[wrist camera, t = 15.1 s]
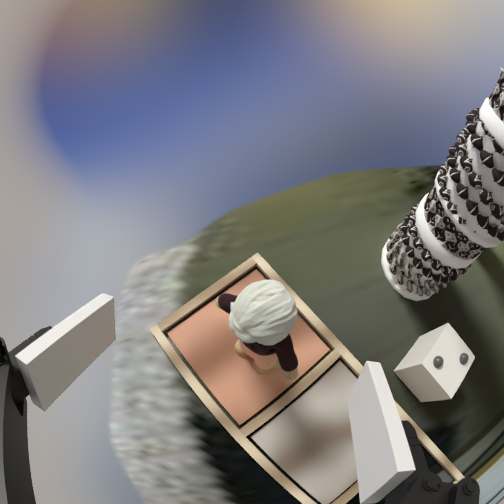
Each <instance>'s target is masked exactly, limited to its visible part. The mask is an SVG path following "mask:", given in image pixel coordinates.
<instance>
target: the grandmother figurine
mask: <svg viewBox="0 0 504 504" xmlns="http://www.w3.org/2000/svg"><path fill="white" fill-rule="evenodd" d="M216 305H217V307H218V308H220V309H222V310H223V311H225V312H226V313H228V314H229V327H230V330H231V331H232V332H233V333H234V334H235V335H236V337H237V338H238V341H237V342H236V344H235V347H234V348H235V351H236V352H237V353H238V354H239V355H240V356H242V357H247V356H250V357H251V358H253V359H254V361H253V366H254V368H255V370H256V371H257V372H258V373H261V374H264V373H267V372H270V371H272V370H275V369H277V368H279V367H281V368H282V371H283V376H284V378H285V379H287V380H294V379H296V378H297V376H298V359H297V356H296V354H295V351H294V347H293V342H292V339H291V336H290V331H291V330H292V329H293V328H294V326H295V321H296V320H297V316H298V312H297V307H296V302H295V300H294V299H293V297H292V296H291V294H290V293H289V292H288V291H287V289H286V288H285V287H284V285H283V284H282V283H281V282H279V281H276V280H262V281H258V282H254V283H251V284H250V285H248V286H247V287H246V288H244V289H243V290H242V291H241V293H240V294H239V295H238V296H236V295H232V294H229V293H224V294H221V295H220V296H218V297H217V299H216Z"/></svg>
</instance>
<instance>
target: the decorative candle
mask: <svg viewBox="0 0 504 504" xmlns="http://www.w3.org/2000/svg"><path fill="white" fill-rule="evenodd" d="M500 69H501V70H502V71H503V72H502V73H501V76H500V79H499V80H498V82H497V83H496V86H495V88H494V90H493V92H492V94H491V95H490V97H489V98H486V100H485V101H484V103H483V105H482V107H481V109H480V110H479V108H476V109H474V110H472V111H471V113H468V114H467V115H466V119H467V122H466V128H464V129H462V131H461V133H460V134H458V135H457V142H456V143H455V146H451V147H450V149H449V153H450V155H449V156H447V160H446V161H445V163H444V164H443V165H441V166H440V168H439V171H438V173H437V176H436V179H435V186H434V188H433V189H432V191H431V192H430V193H428V194H426V195H425V196H424V198H423V199H422V201H421V202H419V203H418V204H417V206H413V207H412V208H411V214H410V215H407V216H406V217H405V218H404V222H403V223H402V224H399V225H398V226H397V228H396V232H393V233H392V234H391V236H390V239H388V241H387V242H386V244H385V246H384V248H383V249H382V258H381V264H382V267H383V271H384V274H385V277H386V279H387V280H388V282H389V283H390V285H391V286H392V288H393V289H394V290H395V291H397V292H398V293H399V294H401V295H402V296H403V297H404V298H408V299H411V300H414V301H420V300H425V299H428V298H429V297H430V296H431V295H433V294H434V293H438V292H439V284H440V285H441V286H442V287H443V288H446V287H447V283H448V282H449V281H454V280H456V279H457V277H458V275H459V274H464V273H465V272H466V271H467V268H469V267H470V266H471V263H472V262H474V261H475V260H476V259H477V257H478V256H479V255H480V254H481V252H483V251H484V250H485V249H486V248H490V247H496V246H497V245H498V244H499V243H500V242H501V241H503V240H504V69H503V68H501V67H500ZM479 117H480V118H479ZM474 119H475V121H476V120H477V119H479V120H478V122H477V123H475V122H474ZM467 138H468V139H467ZM466 139H467V140H466ZM465 140H466V141H465ZM456 153H458V155H457V156H456V157H455V155H456Z"/></svg>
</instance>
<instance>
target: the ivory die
mask: <svg viewBox="0 0 504 504" xmlns="http://www.w3.org/2000/svg"><path fill="white" fill-rule="evenodd" d="M474 359H475V356H474V355H473V353H472V352H471V351H470V349H469V348H468V347H467V345H466V344H465V343H464V342H463V340H462V339H461V338H460V336H459V335H458V334H457V333H456V331H455V330H454V329H453V328H452V327H451V325H450V324H449V323H446V324H444V325H442V326H440V327H438V328H436V329H434V330H432V331H430V332H428V333H426V334H424V335H422V336H420V337H419V338H418V340H417V341H416V342H415V344H414V345H413V346H412V348H411V349H410V350H409V352H408V353H407V354H406V356H405V357H404V358H403V360H402V361H401V362H400V364H399V365H398V366H397V367H396V369H395V370H394V371H393V372H394V373H395V374H396V375H397V376H398V377H399V378H400V379H401V380H402V382H403V383H404V384H405V385H406V386H407V387H408V388H409V389H410V391H411V392H412V393H413V394H414V395H415V396H416V397H417V398H418V400H419V401H420V402H429V401H439V400H447V399H452V397H453V396H454V394H455V393H456V391H457V389H458V388H459V386H460V384H461V382H462V381H463V379H464V377H465V375H466V374H467V372H468V370H469V368H470V366H471V364H472V362H473V360H474Z"/></svg>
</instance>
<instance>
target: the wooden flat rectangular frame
mask: <svg viewBox="0 0 504 504" xmlns="http://www.w3.org/2000/svg"><path fill="white" fill-rule="evenodd" d="M255 266H257V267H258V268H259V269H260V270H261V272H262V273H263V274H264V275H265V276H266V277H267V278H268V279H269V280H276V281H279V282H281V283H282V284H283V285H284V287H285V288H286V289H287V291H288V292H289V293H290V294H291V296H292V297H293V299H294V300H295V302H296V307H297V311H298V312H299V313H300V314H301V315H302V316H303V317H304V319H305V320H306V321H307V322H308V323H309V324H310V325H311V326H312V327H313V328H314V329H315V331H316V332H317V333H318V334H319V335H320V336H321V337H322V338H323V339H324V340H325V341H326V342H327V344H328V345H329V346H330V347H331V348H332V349H333V351H332V352H331V353H330V354H329V355H328V356H327V357H326V358H325V359H324V360H323V361H321V362H320V363H319V364H318V365H317V366H316V367H315V368H314V369H313V370H312V371H311V372H310V373H308V374H307V375H306V376H305V377H304V378H303V379H302V380H301V381H299V382H298V383H297V384H296V385H295V386H294V387H293V388H291V389H290V390H289V391H288V392H287V393H285V394H284V395H283V396H282V397H281V398H279V399H278V400H277V401H276V402H275V403H273V404H272V405H271V406H270V407H268V408H267V409H266V410H265V411H263V412H262V413H261V414H259V415H258V416H257V417H255V418H254V419H253V420H251V421H250V422H249V423H247V424H246V425H245V426H243V427H242V428H241V429H238V427H237V426H236V425H235V424H234V423H233V422H232V421H231V420H230V418H229V417H228V416H227V415H226V414H225V413H224V412H223V410H222V409H221V408H220V407H219V406H218V404H217V403H216V402H215V401H214V400H213V398H212V397H211V396H210V395H209V394H208V392H207V391H206V390H205V389H204V387H203V386H202V385H201V384H200V382H199V381H198V380H197V378H196V377H195V376H194V375H193V373H192V372H191V371H190V369H189V368H188V367H187V365H186V364H185V363H184V361H183V360H182V359H181V357H180V356H179V354H178V353H177V352H176V350H175V349H174V348H173V346H172V345H171V343H170V342H169V340H168V339H167V338H166V336H165V335H164V333H163V332H165V331H166V330H168V329H169V328H170V327H172V326H173V325H175V324H176V323H178V322H179V321H180V320H182V319H183V318H185V317H186V316H187V315H189V314H190V313H192V312H193V311H194V310H196V309H197V308H199V307H200V306H201V305H203V304H204V303H206V302H207V301H208V300H210V299H211V298H213V297H214V296H215V295H217V294H218V293H219V292H221V291H222V290H224V289H225V288H226V287H228V286H229V285H231V284H232V283H233V282H235V281H236V280H237V279H239V278H240V277H242V276H243V275H244V274H246V273H247V272H248V271H250V270H251V269H253V268H254V267H255ZM262 280H266V279H265V278H264V277H263V276H262V275H261V274H260V273H259V272H258V271H257V269H255V270H254V271H252V272H251V273H250V274H248V275H247V276H246V277H244V278H243V279H241V280H240V281H239V282H237V283H236V284H235V285H233V286H232V287H230V288H229V289H228V290H226V291H225V292H224V293H229V294H232V295H236V296H238V295H239V294H240V293H241V291H242V290H243V289H244V288H246V287H247V286H248V285H250V284H251V283H254V282H258V281H262ZM224 293H222V294H224ZM219 296H220V295H219ZM216 299H217V298H215V299H214V300H212V301H211V302H210V303H208V304H207V305H205V306H204V307H203V308H201V309H200V310H199V311H197V312H196V313H194V314H193V315H192V316H190V317H189V318H187V319H186V320H185V321H183V322H182V323H180V324H179V325H177V326H176V327H175V328H173V329H172V330H170V331H169V332H168V333H167V334H168V335H169V337H170V338H171V339H172V341H173V342H174V344H175V345H176V346H177V348H178V349H179V351H180V352H181V353H182V355H183V356H184V357H185V359H186V360H187V361H188V363H189V364H190V365H191V367H192V368H193V369H194V371H195V372H196V373H197V375H198V376H199V377H200V378H201V380H202V381H203V382H204V384H205V385H206V386H207V387H208V389H209V390H210V391H211V392H212V393H213V395H214V396H215V397H216V398H217V399H218V401H219V402H220V403H221V404H222V405H223V407H224V408H225V409H226V410H227V411H228V412H229V414H230V415H231V416H232V417H233V418H234V419H235V420H236V422H237V423H238V424H239V425H241V424H242V423H244V422H245V421H246V420H248V419H249V418H250V417H252V416H253V415H254V414H255V413H257V412H258V411H259V410H261V409H262V408H263V407H265V406H266V405H267V404H268V403H270V402H271V401H272V400H273V399H275V398H276V397H277V396H278V395H279V394H281V393H282V392H283V391H284V390H285V389H287V388H288V387H289V386H290V385H291V384H292V383H294V382H295V381H296V380H297V379H298V378H299V377H300V376H302V375H303V374H304V373H305V372H306V371H307V370H308V369H309V368H311V367H312V366H313V365H314V364H315V363H316V362H317V361H318V360H319V359H320V358H321V357H322V356H324V355H325V354H326V353H327V352H328V351H329V350H330V349H329V348H328V347H327V346H326V345H325V344H324V343H323V342H322V341H321V339H320V338H319V337H318V336H317V335H316V334H315V333H314V332H313V331H312V330H311V329H310V328H309V326H308V325H307V324H306V323H305V322H304V321H303V320H302V319H301V318H300V317H299V316H297V320H296V321H295V326H294V328H293V329H292V330H291V331H290V336H291V339H292V342H293V347H294V351H295V354H296V356H297V359H298V376H297V378H296V379H294V380H287V379H285V378H284V376H283V371H282V368H281V367H279V368H277V369H275V370H272V371H270V372H267V373H264V374H261V373H258V372H257V371H256V370H255V368H254V366H253V361H254V359H253V358H251V357H250V356H247V357H242V356H240V355H239V354H238V353H237V352H236V351H235V348H234V347H235V344H236V342H237V341H238V338H237V337H236V335H235V334H234V333H233V332H232V331H231V330H230V327H229V314H228V313H226V312H225V311H223V310H222V309H220V308H218V307H217V305H216ZM150 330H151V332H152V333H153V335H154V336H155V338H156V339H157V341H158V342H159V344H160V345H161V347H162V348H163V349H164V351H165V352H166V354H167V355H168V357H169V358H170V359H171V361H172V362H173V364H174V365H175V366H176V368H177V369H178V371H179V372H180V373H181V375H182V376H183V377H184V379H185V380H186V381H187V383H188V384H189V385H190V386H191V388H192V389H193V390H194V392H195V393H196V394H197V395H198V397H199V398H200V399H201V400H202V402H203V403H204V404H205V405H206V406H207V408H208V409H209V410H210V411H211V413H212V414H213V415H214V416H215V417H216V418H217V420H218V421H219V422H220V423H221V424H222V425H223V426H224V428H225V429H226V430H227V431H228V432H229V433H230V434H231V435H232V437H233V438H234V439H235V440H236V441H237V442H238V443H239V444H240V445H241V446H242V447H243V448H244V449H245V450H246V451H247V452H248V454H249V455H250V456H251V457H252V458H253V459H254V460H255V461H256V462H257V463H258V464H259V465H260V466H261V467H262V468H263V469H265V470H266V471H267V472H268V473H269V474H270V475H271V476H272V477H273V478H274V479H275V480H276V481H277V482H278V483H279V484H281V485H282V486H283V487H284V488H285V489H286V490H287V491H288V492H290V493H291V494H292V495H293V496H294V497H295V498H297V499H298V500H299V501H300V502H301V503H302V504H317V503H316V502H314V501H313V500H312V499H311V498H310V497H308V496H307V495H306V494H305V493H304V492H303V491H301V490H300V489H299V488H298V487H297V486H296V485H295V484H294V483H292V482H291V481H290V480H289V479H288V478H287V477H286V476H285V475H284V474H283V473H282V472H281V471H279V470H278V469H277V468H276V467H275V466H274V465H273V464H272V463H271V462H270V461H269V460H268V459H267V458H266V457H265V456H264V455H263V454H262V453H261V452H260V451H259V450H258V449H257V448H256V447H255V446H254V445H253V444H252V443H251V442H250V440H249V439H248V438H247V437H246V436H248V435H249V434H250V433H252V432H253V431H255V430H256V429H257V428H259V427H260V426H261V425H262V424H264V423H265V422H266V421H268V420H269V419H270V418H271V417H273V416H274V415H275V414H276V413H278V412H279V411H280V410H281V409H283V408H284V407H285V406H286V405H287V404H289V403H290V402H291V401H292V400H293V399H294V398H296V397H297V396H298V395H299V394H300V393H301V392H303V391H304V390H305V389H306V388H307V387H308V386H309V385H310V384H312V383H313V382H314V381H315V380H316V379H317V378H318V377H319V376H320V375H321V374H322V373H323V372H324V371H326V370H327V369H328V368H329V367H330V366H331V365H332V364H333V363H334V362H335V361H336V360H337V359H338V358H339V357H340V358H341V359H342V360H343V361H344V362H345V363H346V364H347V365H348V366H349V367H350V368H351V370H352V371H353V372H354V373H355V374H356V375H357V376H358V377H359V375H360V373H361V371H362V369H363V366H362V365H361V364H360V363H359V361H358V360H357V359H356V358H355V357H354V356H353V355H352V354H351V353H350V352H349V351H348V350H347V348H346V347H345V346H344V345H343V344H342V343H341V342H340V341H339V340H338V339H337V338H336V337H335V336H334V334H333V333H332V332H331V331H330V330H329V329H328V328H327V327H326V326H325V325H324V324H323V323H322V321H321V320H320V319H319V318H318V317H317V316H316V315H315V314H314V313H313V312H312V311H311V310H310V309H309V307H308V306H307V305H306V304H305V303H304V302H303V301H302V300H301V299H300V298H299V297H298V296H297V295H296V293H295V292H294V291H293V290H292V289H291V288H290V287H289V286H288V285H287V284H286V283H285V282H284V281H283V279H282V278H281V277H280V276H279V275H278V274H277V273H276V272H275V271H274V270H273V269H272V268H271V267H270V266H269V264H268V263H267V262H266V261H265V260H264V259H263V258H262V257H261V256H260V255H259V254H258V253H257V254H255V255H254V256H252V257H251V258H250V259H248V260H247V261H245V262H244V263H243V264H241V265H240V266H238V267H237V268H236V269H234V270H233V271H231V272H230V273H228V274H227V275H226V276H224V277H223V278H221V279H220V280H219V281H217V282H216V283H214V284H213V285H212V286H210V287H209V288H207V289H206V290H204V291H203V292H202V293H200V294H199V295H197V296H196V297H195V298H193V299H192V300H190V301H189V302H188V303H186V304H185V305H183V306H182V307H180V308H179V309H178V310H176V311H175V312H173V313H172V314H171V315H169V316H168V317H166V318H165V319H163V320H162V321H161V322H159V323H158V324H156V325H155V326H153V327H152V328H151V329H150ZM356 381H357V378H356V377H355V376H354V375H353V374H352V373H351V372H350V371H349V370H348V369H347V368H346V367H345V365H344V364H343V363H342V362H341V361H340V360H339V361H338V362H337V363H336V364H335V365H334V366H333V367H332V368H331V369H330V370H329V371H328V372H327V373H326V374H325V375H324V376H322V377H321V378H320V379H319V380H318V381H317V382H316V383H315V384H314V385H313V386H312V387H311V388H309V389H308V390H307V391H306V392H305V393H304V394H303V395H302V396H300V397H299V398H298V399H297V400H296V401H295V402H293V403H292V404H291V405H290V406H289V407H287V408H286V409H285V410H284V411H283V412H281V413H280V414H279V415H278V416H276V417H275V418H274V419H273V420H271V421H270V422H269V423H268V424H266V425H265V426H264V427H262V428H261V429H260V430H259V431H257V432H256V433H254V434H253V435H252V436H250V437H251V438H252V439H253V440H254V441H255V442H256V443H257V444H258V445H259V446H260V447H261V448H262V449H263V450H264V451H265V452H266V453H267V454H268V455H269V456H270V457H271V458H272V459H273V460H274V461H275V462H276V463H277V464H278V465H279V466H280V467H281V468H282V469H283V470H284V471H285V472H286V473H287V474H288V475H289V476H290V477H292V478H293V479H294V480H295V481H296V482H297V483H298V484H299V485H300V486H302V487H303V488H304V489H305V490H306V491H307V492H308V493H310V494H311V495H312V496H313V497H314V498H316V499H317V500H318V501H319V502H320V503H322V504H329V503H330V502H332V501H333V500H334V499H335V498H337V497H338V496H339V495H340V494H341V493H342V492H344V491H345V490H346V489H347V488H348V487H349V486H351V485H352V484H353V483H354V482H355V481H356V480H357V479H358V478H357V469H356V461H355V453H354V446H353V438H352V432H351V425H350V419H349V412H348V406H347V401H346V399H347V397H348V396H349V394H350V392H351V390H352V388H353V387H354V385H355V383H356ZM394 402H395V401H394ZM395 405H396V408H397V411H398V414H399V416H400V419H401V420H408V421H409V422H410V423H411V424H412V426H413V427H414V428H415V430H416V433H417V436H418V439H419V442H420V443H421V444H422V445H423V447H424V448H425V449H426V450H427V451H428V452H429V453H430V454H431V455H432V456H433V457H434V458H435V459H436V460H437V461H438V462H439V463H440V465H441V466H442V467H443V468H444V469H445V470H446V471H447V472H448V473H449V474H450V475H451V476H452V477H453V478H454V479H455V481H454V484H456V483H458V482H459V481H460V480H461V479H462V478H465V477H464V476H463V475H462V474H461V473H460V472H459V471H458V469H457V468H456V467H455V466H454V465H453V464H452V463H451V462H450V461H449V460H448V458H447V457H446V456H445V455H444V454H443V453H442V452H441V451H440V450H439V449H438V448H437V446H436V445H435V444H434V443H433V442H432V441H431V440H430V439H429V438H428V437H427V435H426V434H425V433H424V432H423V431H422V430H421V429H420V428H419V427H418V426H417V425H416V423H415V422H414V421H413V420H412V419H411V418H410V417H409V416H408V415H407V414H406V413H405V411H404V410H403V409H402V408H401V407H400V406H399V405H398V404H397V403H396V402H395ZM358 492H359V487H358V481H357V482H356V483H355V484H354V485H353V486H352V487H351V488H349V489H348V490H347V491H346V492H345V493H344V494H342V495H341V496H340V497H339V498H338V499H336V500H335V501H334V502H333V503H331V504H346V503H347V502H348V501H349V500H350V499H352V498H353V497H354V496H355V495H356V494H357V493H358Z"/></svg>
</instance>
